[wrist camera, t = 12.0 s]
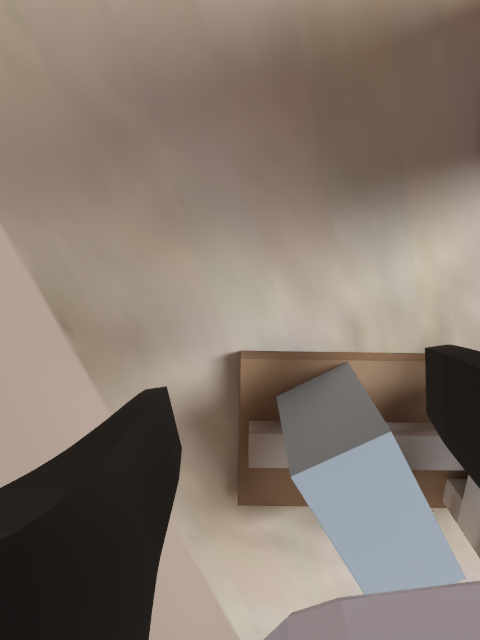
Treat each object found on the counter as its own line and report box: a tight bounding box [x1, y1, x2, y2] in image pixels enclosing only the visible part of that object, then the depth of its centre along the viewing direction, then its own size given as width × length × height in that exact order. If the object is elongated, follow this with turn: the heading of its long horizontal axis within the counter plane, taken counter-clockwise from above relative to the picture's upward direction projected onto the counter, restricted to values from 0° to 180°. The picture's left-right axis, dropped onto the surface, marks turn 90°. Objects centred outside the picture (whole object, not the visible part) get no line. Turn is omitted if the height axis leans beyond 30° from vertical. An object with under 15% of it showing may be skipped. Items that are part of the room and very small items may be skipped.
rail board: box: [238, 351, 480, 558], centre depth 19 cm, size 17×9×7 cm, turn 89°
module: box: [276, 362, 466, 595], centre depth 19 cm, size 4×9×6 cm, turn 29°
